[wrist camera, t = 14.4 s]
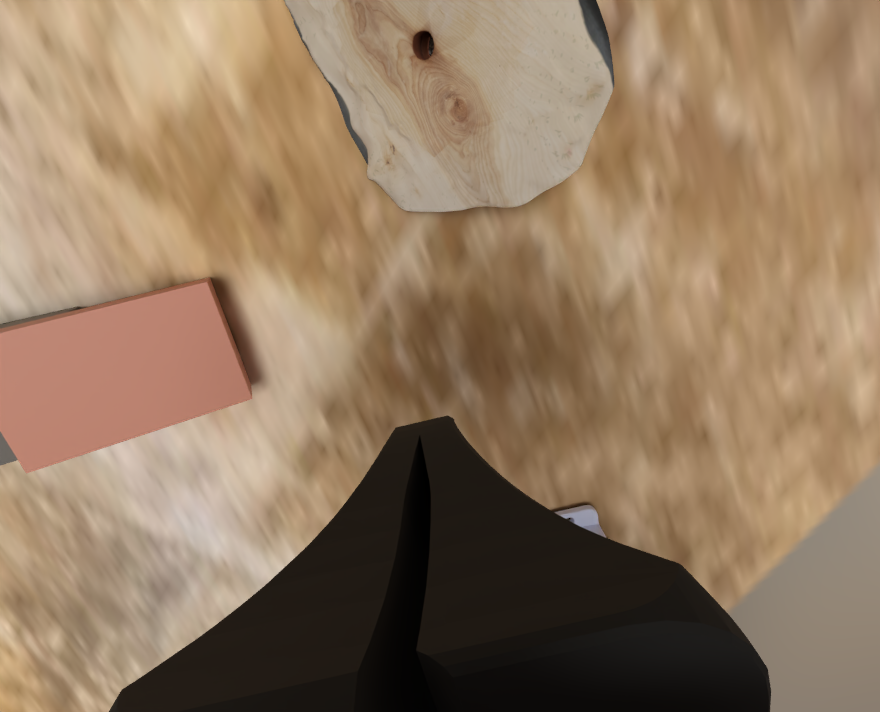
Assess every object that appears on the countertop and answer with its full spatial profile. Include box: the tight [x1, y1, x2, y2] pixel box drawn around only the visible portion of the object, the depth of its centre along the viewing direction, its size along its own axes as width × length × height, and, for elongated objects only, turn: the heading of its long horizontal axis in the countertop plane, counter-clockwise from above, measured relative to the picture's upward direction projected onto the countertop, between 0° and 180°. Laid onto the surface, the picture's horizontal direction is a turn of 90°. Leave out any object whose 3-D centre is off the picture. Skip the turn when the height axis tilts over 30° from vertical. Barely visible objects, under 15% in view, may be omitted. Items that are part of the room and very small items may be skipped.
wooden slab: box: [284, 0, 614, 212], centre depth 15 cm, size 11×4×12 cm
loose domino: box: [0, 277, 252, 473], centre depth 18 cm, size 2×5×8 cm
